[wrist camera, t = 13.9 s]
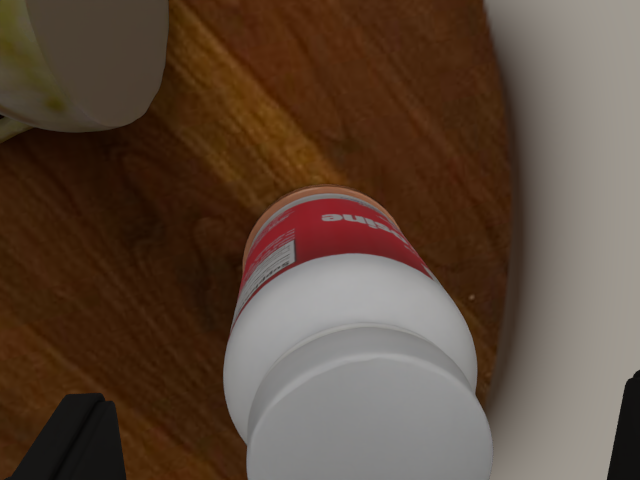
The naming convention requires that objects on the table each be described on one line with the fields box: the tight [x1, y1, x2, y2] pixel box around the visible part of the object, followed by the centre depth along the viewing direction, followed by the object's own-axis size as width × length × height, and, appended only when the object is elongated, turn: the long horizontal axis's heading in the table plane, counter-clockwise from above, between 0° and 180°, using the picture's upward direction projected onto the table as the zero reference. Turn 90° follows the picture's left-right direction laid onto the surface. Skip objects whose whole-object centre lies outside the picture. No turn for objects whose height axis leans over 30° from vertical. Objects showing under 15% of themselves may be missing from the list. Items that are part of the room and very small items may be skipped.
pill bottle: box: [223, 193, 493, 480], centre depth 15 cm, size 6×6×11 cm
